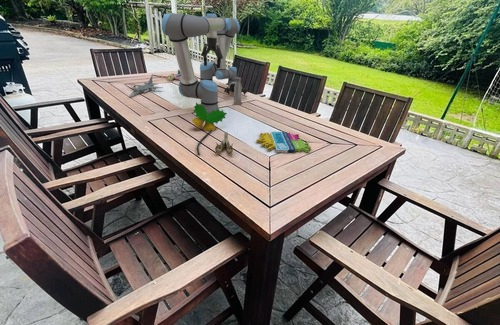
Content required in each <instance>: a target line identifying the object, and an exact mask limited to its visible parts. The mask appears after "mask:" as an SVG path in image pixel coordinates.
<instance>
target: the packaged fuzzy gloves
mask: <svg viewBox="0 0 500 325" xmlns="http://www.w3.org/2000/svg"><path fill="white" fill-rule="evenodd" d="M299 136H300V135H299V134H298V133H296V134H294V133H291V132H287V131H270V132H264V133H263V132H260V133H259V139H258V138H257V139H256V143H257V144H261V148H263V147H264V148H265V149H267V151H268V152H271V151H272V150H273V149H275V152H276V153H283V154H285V153H287V154H288V153H290V154H293V153H296V152H298V153H301V152H305V153H310V151H311V150H312V149H311V148H312V146H309V142H304V141H303V139H302V138H299Z"/></svg>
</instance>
